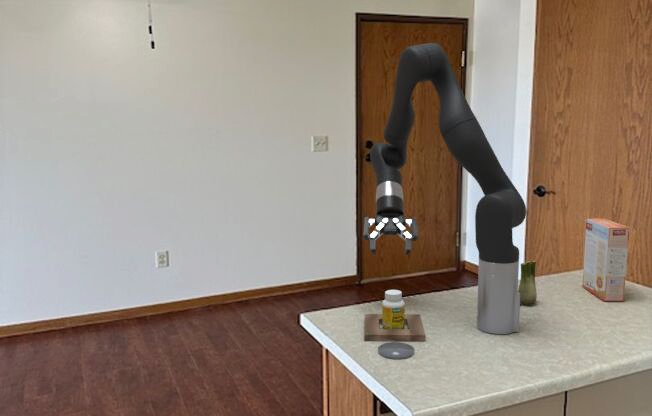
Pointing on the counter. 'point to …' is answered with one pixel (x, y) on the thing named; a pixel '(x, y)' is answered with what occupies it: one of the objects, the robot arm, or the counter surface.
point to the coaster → (396, 350)
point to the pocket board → (376, 334)
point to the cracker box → (605, 259)
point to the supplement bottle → (393, 310)
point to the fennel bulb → (527, 283)
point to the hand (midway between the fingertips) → (390, 252)
